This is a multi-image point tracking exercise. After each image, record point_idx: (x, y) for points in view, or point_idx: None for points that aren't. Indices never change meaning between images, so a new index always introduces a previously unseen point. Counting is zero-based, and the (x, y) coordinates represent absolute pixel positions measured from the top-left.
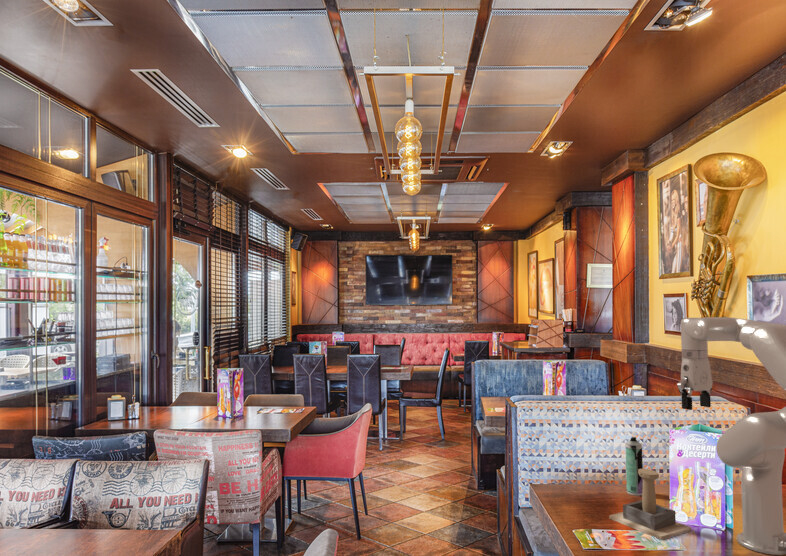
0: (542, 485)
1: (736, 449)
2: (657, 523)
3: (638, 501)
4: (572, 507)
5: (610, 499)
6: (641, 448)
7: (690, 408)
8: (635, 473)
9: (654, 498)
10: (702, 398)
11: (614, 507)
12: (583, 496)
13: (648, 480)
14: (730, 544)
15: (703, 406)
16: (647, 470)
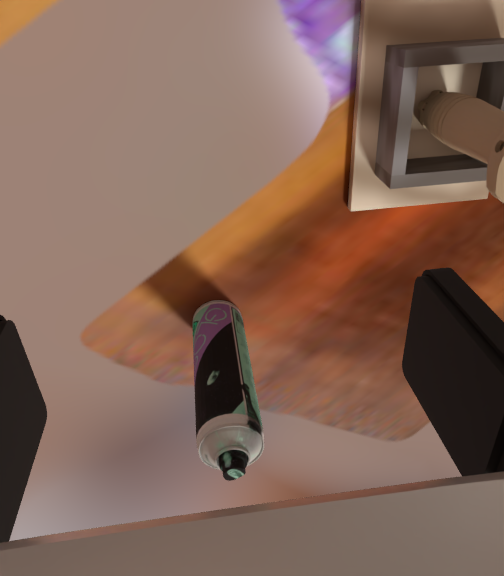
0: (398, 431)
1: None
2: (497, 40)
3: (421, 183)
4: (482, 295)
5: (334, 306)
6: (219, 415)
7: (452, 283)
8: (241, 349)
9: (480, 103)
10: (4, 480)
11: (384, 255)
12: (380, 345)
13: None
14: None
15: (29, 381)
16: None
